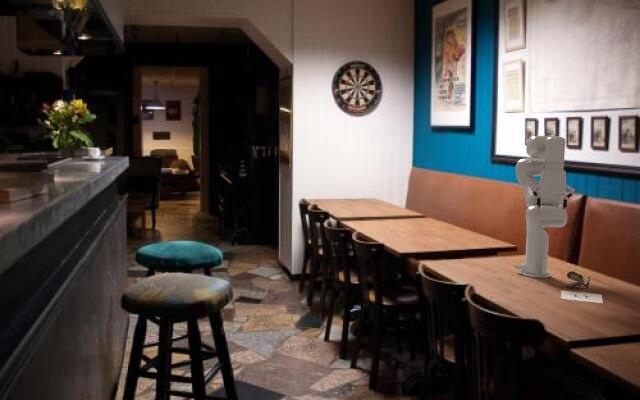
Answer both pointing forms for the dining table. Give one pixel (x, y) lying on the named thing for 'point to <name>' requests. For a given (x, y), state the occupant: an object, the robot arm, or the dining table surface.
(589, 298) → the white square panel
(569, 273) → the eagle figurine
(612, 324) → the dining table surface
